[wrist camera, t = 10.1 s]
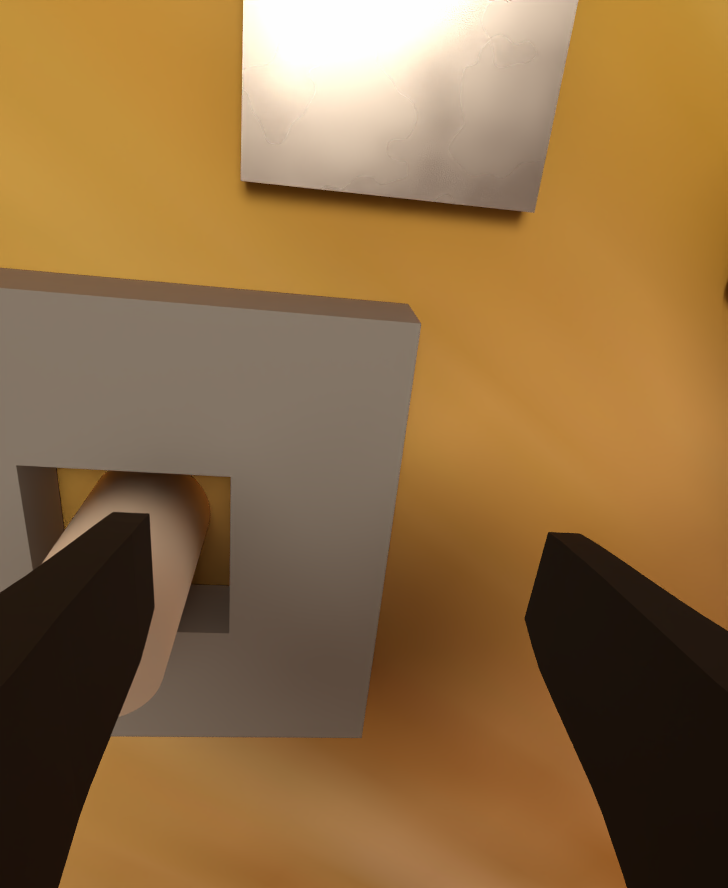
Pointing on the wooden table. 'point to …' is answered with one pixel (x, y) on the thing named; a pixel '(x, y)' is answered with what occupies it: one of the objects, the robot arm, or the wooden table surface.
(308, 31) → the square grey metal plate
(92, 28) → the wooden table surface
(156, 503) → the peg
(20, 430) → the hole plate
